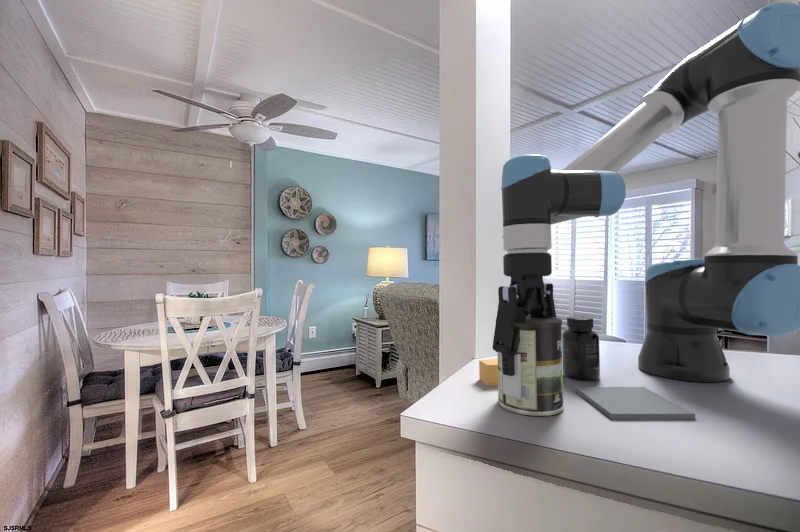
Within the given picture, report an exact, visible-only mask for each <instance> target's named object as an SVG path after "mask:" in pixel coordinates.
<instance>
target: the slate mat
mask: <svg viewBox="0 0 800 532" xmlns="http://www.w3.org/2000/svg"><path fill="white" fill-rule="evenodd" d="M574 389H575V392H576V393H577V394H578V395H579V396H580V397H582V398H583V399H584V400H586V401H587V402H588V403H590V404H591V405H592V406H593V407H595V408H596V409H597V408H598V409H597V410H599V411H600V412H601V411H602V412H601V413H603V414H604V415H605V414H606V415H605V416H606V417H608V418H609V419H610V418H611V419H610V420H696V413H694V412H693V411H691V410H689V409H687V408H685V407H683V406H681V405H679V404H678V403H676V402H673V401H671V400H670V399H668V398H666V397H664V396H662V395H660V394H659V393H656V392H654V391H653V390H651V389H649V388H646V387H645V386H575V388H574Z"/></svg>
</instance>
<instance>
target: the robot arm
mask: <svg viewBox="0 0 800 532" xmlns="http://www.w3.org/2000/svg"><path fill="white" fill-rule="evenodd" d="M799 90H800V4H798V3H797V4H796V3H794V2H790V1H789V2H787V1H778V2H773V3H769V4H767V5H765V6H763V7H762V8H760V9H758V10H757V11H755V12H753V13H752V14H750V15H746V16H745V17H743V18H741V20H740V21H738V23H737V24H735V25H734V26H732V27H730V28H729V29H728V30H726V31H724V32H723V33H722V34H720V35H719V36H717V37H716V38H714V39H712V40H711V41H710V42H709V43H706V44H705V45H704V46H702V47H700V48H699V49H697V50H696V51H694V52H692V53H691V54H689V55H688V56H686V58H684V59H683V60H682V61H681V62H680V63H678V64H677V65H676V66H675V67H674V68H673V69H672V70H671V71H670V72H669V73H668V74H667V75H665V77H663V78H662V79H661V80H660V81H659V82H658V83H657V84H656V85H654V87H653V88H652V89H651V90H649V91H648V92H647V93H645V95H643V96H642V97H641V98H640V100H639V102H638V104H637V107H636V108H635V109H634V110H633V111H632V112H630V114H628V115H627V116H626V117H624V118H623V119H621V121H619V122H618V123H617V124H616V125H614V127H612V128H611V129H610V130H609V131H607V132H606V133H605V134H604V135H602V136H601V137H599V139H598V140H596V141H595V142H594V143H592V144H591V146H589V147H588V148H587V149H586V150H584V151H583V152H581V153H580V154H579V155H578V156H577V157H576V158H575V159H574V160H572V161H571V162H570V163H568V164H567V165H566V166H565V167H563V168H562V169H561V170H557V169H552V165H551V163H550V162H551V161H550V159H549V157H548V156H546V155H541V154H534V153H533V154H524V155H518V156H515V157H512V158H510V159H508V160H507V161H505V163H504V164H503V167H502V173H501V187H500V190H501V202H502V227H503V229H502V232H503V233H502V240H503V244H502V245H503V251H505V252H506V254H504V256H503V258H502V259H503V260H502V261H503V266H502V267H503V269H502V270H503V275H504V276H506V277H510V283H509V286H503V285H502V286H501V285H500V286H498V289H497V291H498V305H497V312H496V318H495V326H494V333H493V342H492V350H493V351H495V352H500V353H502V367H503V368H502V372H503V394H506V395H509V396H513V397H517V398H520V397H521V354H517V351H518V347H519V343H520V328H519V327H514V322H518V323H525V320H526V316H527V315H531V317H534V318H547V317H555V318H557V314H556V307H555V300H554V284H553V283H552V282H551V283H550V282H549V283H547V282H544V277H549V276H551V275H552V271H553V269H552V266H553V264H552V254H551V253H549V252H548V250H551V249H552V247H553V246H552V226H553V225H556V224H558V223H559V224H560V223H562V222H567V221H572V220H575V219H580V218H585V217H594V218H599V217H608V216H612V215H614V214H616V213H617V212H619V211H620V209H621V208H622V206H623V205H624V203H625V200H626V194H627V193H626V187H627V186H626V181H625V180H624V178H623V177H622V175H621V174H619V173H618V172H619V171H620V170H621V169H623V168H624V167H625V166H626V165H628V164H629V163H630V162H632V160H634V159H635V158H636V157H637V156H638V155H640V154H641V153H642V152H643V151H645V150H646V149H647V148H648V147H649V146H650V145H651V144H653V143H654V142H656V140H657V139H659V138H661V136H662V135H664V134H670V133H673V132H675V131H677V130H678V129H679V128H680V127H681V126H683V125H684V124H685V123H687V122H689V121H690V120H692V119H694V118H696V117H698V116H701V115H702V114H704V113H707V112H708V111H711V112H712V113H714V114H716V115H717V155H716V157H717V158H716V160H717V161H716V201H715V202H716V203H715V204H716V207H715V209H716V210H715V245H714V247H713V248H711V249H710V250H709V251H707V252H706V253H705V254H704V257H703V258H688V259H678V260H667V261H661V262H657V263H654V264H651V265H650V266H648V267H647V269H646V275H645V281H644V284H645V300H646V301H645V302H646V303H645V304H646V307H645V308H646V309H645V310H646V335H645V338H644V340H643V343H642V346H641V347H640V351H639V353H638V357H637V364H638V368H639V369H640V370H642V371H644V372H646V373H647V374H648V373H649V374H651V375H654V376H658V377H663V378H668V379H672V380H673V379H674V380H680V381H687V382H695V383H696V382H700V383H719V382H720V383H721V382H725V381H728V380H729V379H730V378H731V377H730V376H731V375H730V374H731V373H730V369H731V368H730V365H729V363H728V362H727V358H726V356H725V353H724V351H723V349H722V345H721V344H720V341H719V340H718V329H721V330H727V331H732V332H733V331H734V332H740V333H743V334H745V335H749V336H763V337H764V336H765V337H785V336H788V335H792V334H794V333H796V332H798V331H800V265H799V264H798V263H799V261H798V259H799V258H798V257H799V256H798V253H797V252H795V251H793V250H792V249H790V248H789V247H787V245H786V244H785V224H786V223H785V220H786V217H785V216H786V171H787V170H786V167H787V165H786V164H787V162H786V161H787V117H788V116H787V115H788V114H787V112H788V111H787V107H788V103H787V102H788V101H789V99H791V97H793V96H794V95H795V94H796V93H797V92H798V91H799ZM500 342H501V343H500ZM511 345H512V346H511Z"/></svg>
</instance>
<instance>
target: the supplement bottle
mask: <svg viewBox="0 0 800 532" xmlns="http://www.w3.org/2000/svg"><path fill="white" fill-rule="evenodd" d="M566 327H567V329H565V330H564V331H562V375H563V376H564V377H566V378H567V379H570V380H574V381H579V382H593V381H594V382H596V381H597V380H599V379H600V377H601V359H600V358H601V356H600V335H599V334H598V333H597V332H596V331H594V330H593V329H594V318H593V317H588V316H580V315H579V316H567V317H566Z"/></svg>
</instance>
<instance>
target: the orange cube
mask: <svg viewBox="0 0 800 532" xmlns="http://www.w3.org/2000/svg"><path fill="white" fill-rule="evenodd" d="M478 363H479V364H478V365H479V367H478V368H479V373H478V374H479V377H478V378H479V381H481V380H482V381H483V382H482V381H481V382H482V383H484V384H485V385H486V386H488V387H492V386H498V358H491V359H479V360H478Z"/></svg>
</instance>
